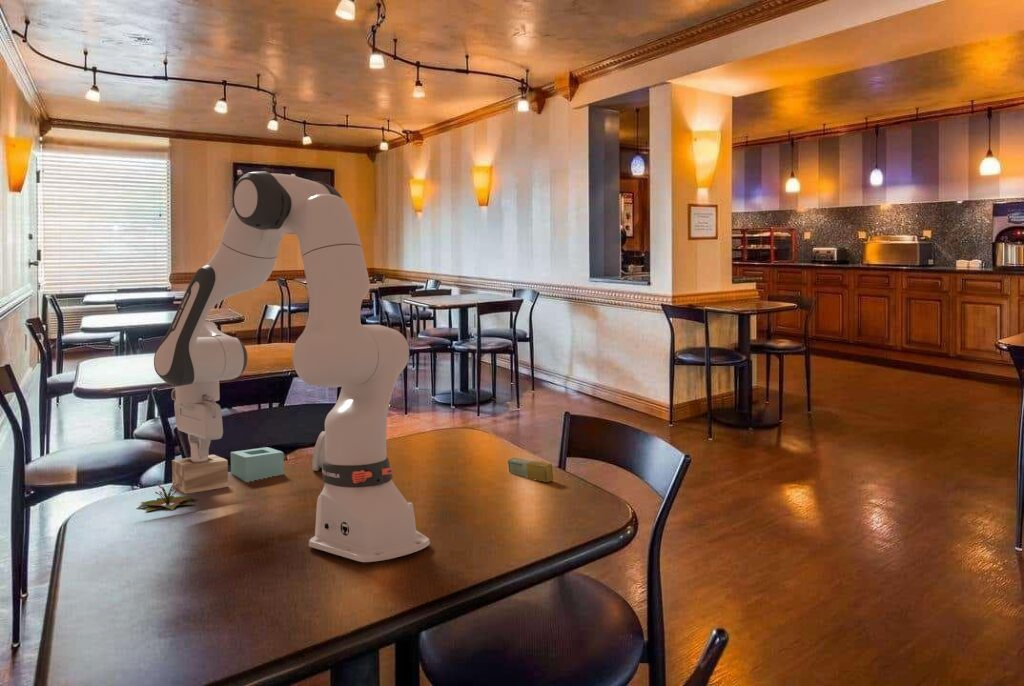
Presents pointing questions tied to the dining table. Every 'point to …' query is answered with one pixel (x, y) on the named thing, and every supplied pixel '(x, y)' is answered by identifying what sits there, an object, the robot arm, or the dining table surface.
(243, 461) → the teal socket
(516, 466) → the medication box
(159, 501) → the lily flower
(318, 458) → the mechanical component
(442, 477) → the dining table surface
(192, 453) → the lock pin
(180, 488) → the block
